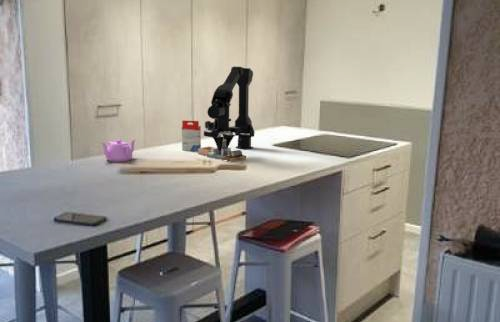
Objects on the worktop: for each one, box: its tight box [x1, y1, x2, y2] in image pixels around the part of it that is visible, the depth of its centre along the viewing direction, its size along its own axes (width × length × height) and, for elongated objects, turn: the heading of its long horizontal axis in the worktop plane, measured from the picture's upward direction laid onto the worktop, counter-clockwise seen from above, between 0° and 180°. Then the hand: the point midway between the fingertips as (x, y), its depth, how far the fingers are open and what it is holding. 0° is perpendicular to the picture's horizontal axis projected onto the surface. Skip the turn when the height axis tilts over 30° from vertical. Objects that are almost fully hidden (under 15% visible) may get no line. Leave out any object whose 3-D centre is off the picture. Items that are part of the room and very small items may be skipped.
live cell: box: [226, 149, 243, 158], centre depth 238 cm, size 7×4×4 cm, turn 138°
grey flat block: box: [206, 147, 226, 160], centre depth 243 cm, size 10×9×4 cm
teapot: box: [100, 138, 137, 163], centre depth 232 cm, size 12×14×9 cm
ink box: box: [181, 120, 202, 152], centre depth 257 cm, size 8×5×15 cm, turn 84°
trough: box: [221, 154, 247, 162], centre depth 238 cm, size 10×6×2 cm, turn 138°
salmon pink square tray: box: [197, 146, 215, 157], centre depth 249 cm, size 7×7×3 cm
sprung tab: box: [221, 147, 232, 156], centre depth 241 cm, size 5×1×3 cm, turn 138°
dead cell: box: [218, 136, 227, 154], centre depth 242 cm, size 4×4×8 cm
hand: (222, 150), depth 243 cm, fingers closed on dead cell, 4 cm apart
